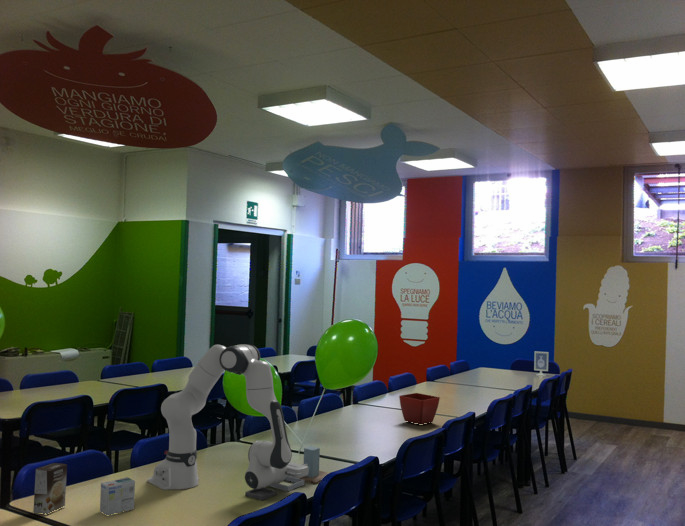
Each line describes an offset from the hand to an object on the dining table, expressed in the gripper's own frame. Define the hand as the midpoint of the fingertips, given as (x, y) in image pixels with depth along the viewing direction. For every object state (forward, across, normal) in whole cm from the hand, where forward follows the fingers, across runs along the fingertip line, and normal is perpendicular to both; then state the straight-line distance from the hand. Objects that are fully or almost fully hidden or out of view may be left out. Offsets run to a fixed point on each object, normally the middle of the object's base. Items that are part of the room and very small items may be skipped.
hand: (297, 463), depth 265 cm
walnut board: (+11, 0, +8) cm, 14 cm away
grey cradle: (-5, +2, +8) cm, 10 cm away
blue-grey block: (+10, 0, +7) cm, 12 cm away
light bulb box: (-67, +32, +9) cm, 75 cm away
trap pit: (-21, +2, +8) cm, 23 cm away
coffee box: (-82, +51, +9) cm, 97 cm away
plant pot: (+143, +13, +9) cm, 144 cm away
